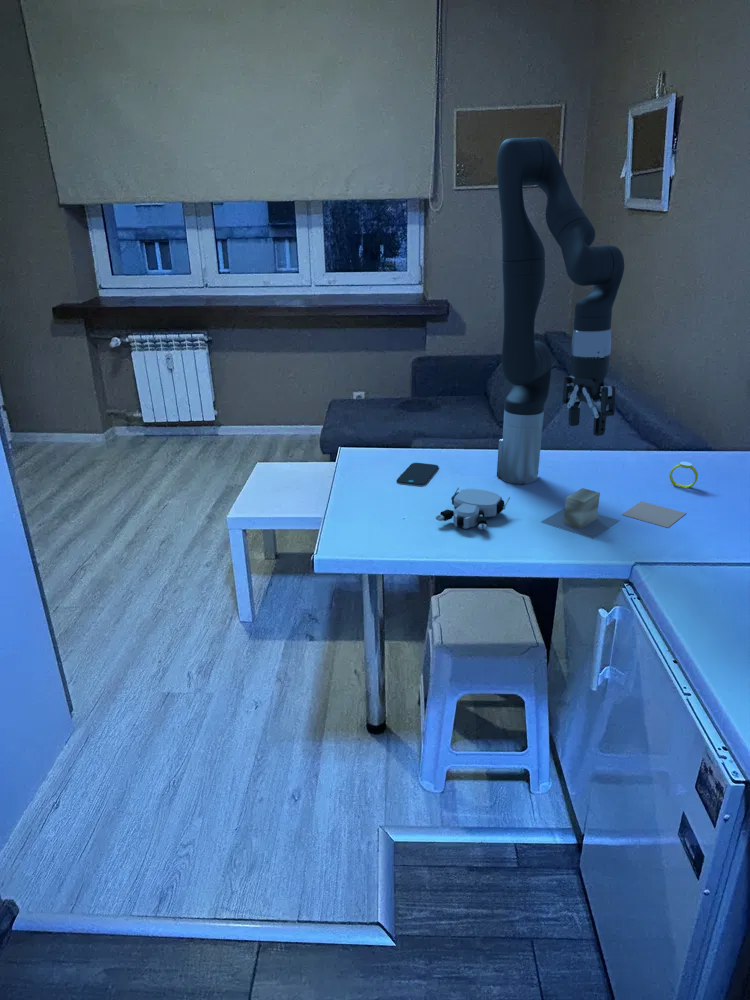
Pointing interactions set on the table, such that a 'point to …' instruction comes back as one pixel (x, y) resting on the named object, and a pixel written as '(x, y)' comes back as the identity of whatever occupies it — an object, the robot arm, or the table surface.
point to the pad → (654, 514)
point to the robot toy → (473, 508)
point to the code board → (588, 531)
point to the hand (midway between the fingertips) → (585, 430)
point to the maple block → (581, 508)
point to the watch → (684, 465)
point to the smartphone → (417, 474)
